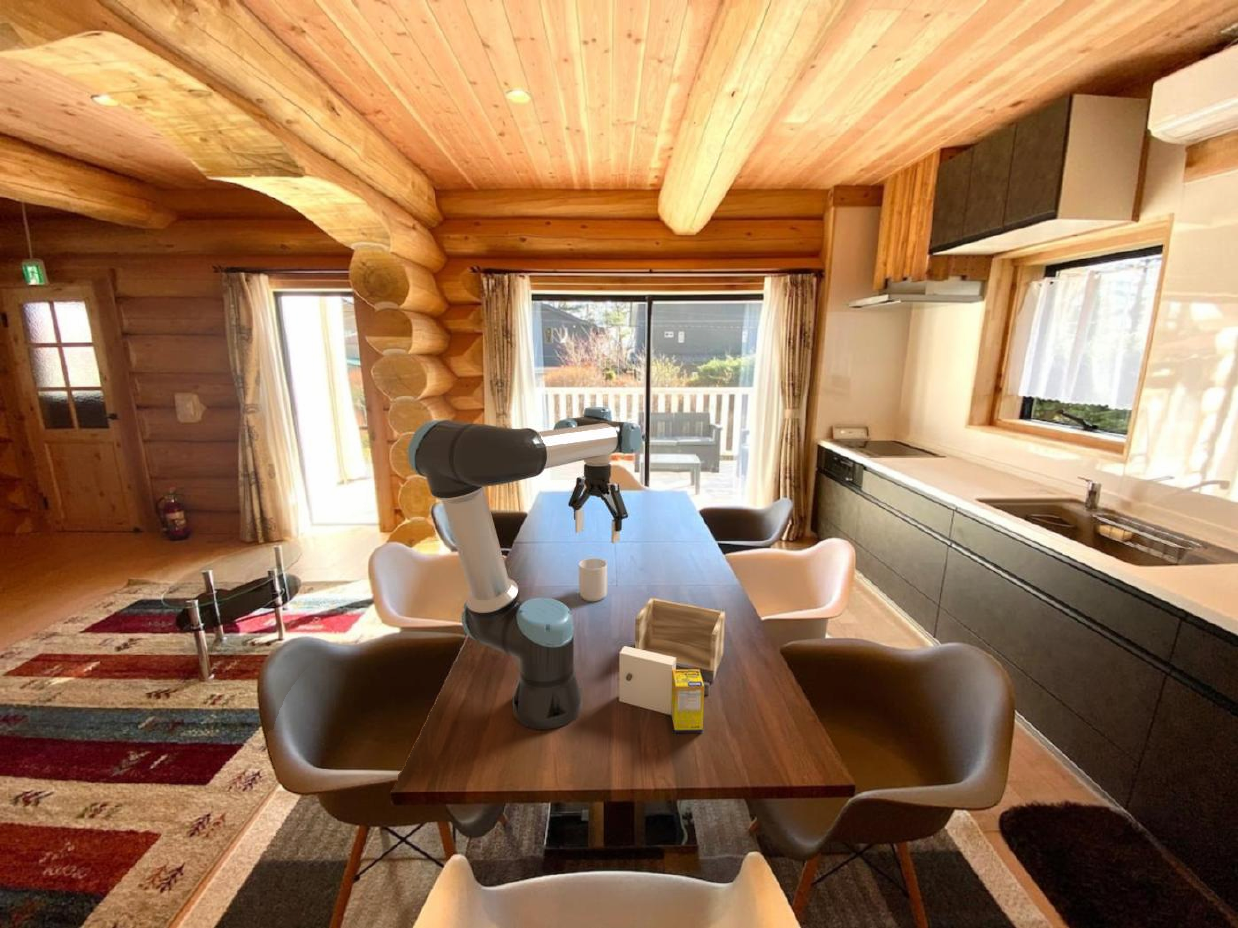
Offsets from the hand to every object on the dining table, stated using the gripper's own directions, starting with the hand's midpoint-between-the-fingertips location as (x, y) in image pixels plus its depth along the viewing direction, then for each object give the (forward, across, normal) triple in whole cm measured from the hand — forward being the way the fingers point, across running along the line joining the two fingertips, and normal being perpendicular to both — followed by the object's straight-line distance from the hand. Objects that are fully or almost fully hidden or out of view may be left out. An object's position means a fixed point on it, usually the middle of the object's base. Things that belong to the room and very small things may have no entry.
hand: (596, 536), depth 147 cm
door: (+26, -34, +22) cm, 48 cm away
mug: (+25, +11, -11) cm, 29 cm away
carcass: (+25, -31, +4) cm, 40 cm away
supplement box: (+26, -44, +22) cm, 55 cm away
